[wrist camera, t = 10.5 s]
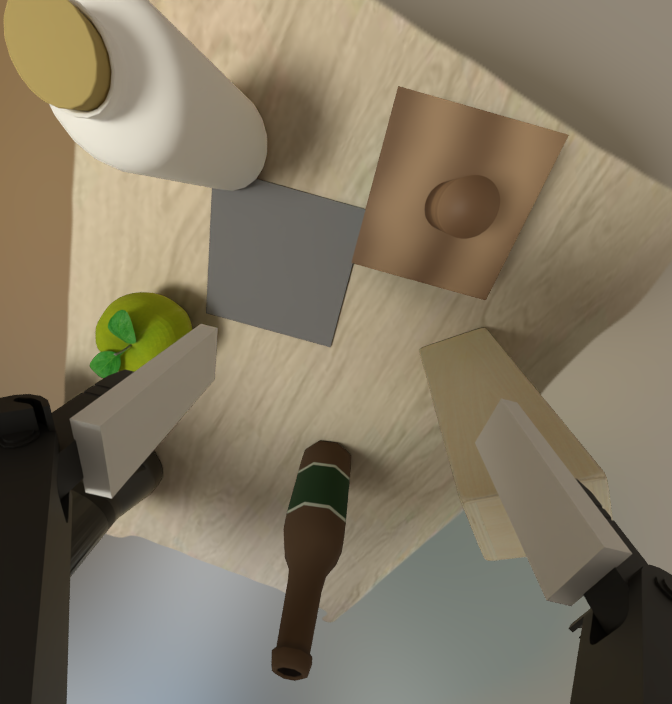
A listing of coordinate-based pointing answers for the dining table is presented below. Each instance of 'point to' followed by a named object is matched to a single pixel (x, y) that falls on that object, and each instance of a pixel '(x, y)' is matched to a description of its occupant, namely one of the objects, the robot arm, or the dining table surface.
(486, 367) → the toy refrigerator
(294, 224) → the mat
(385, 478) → the dining table surface
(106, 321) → the fruit
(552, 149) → the lid cover
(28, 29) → the potion bottle
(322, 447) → the beer bottle
